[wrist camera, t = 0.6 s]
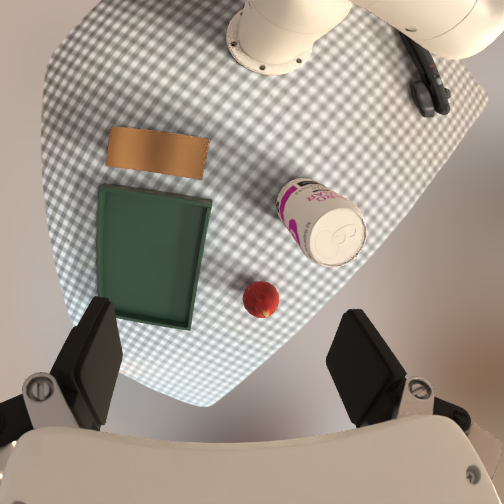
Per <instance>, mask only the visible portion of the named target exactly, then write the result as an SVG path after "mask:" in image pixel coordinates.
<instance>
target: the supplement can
mask: <svg viewBox="0 0 504 504" xmlns="http://www.w3.org/2000/svg"><path fill="white" fill-rule="evenodd" d="M276 207H277V213H278V215H279V217H280V219H281V220H282V222H283V223H284V225H285V226H286V228H287V229H288V231H289V232H290V233H291V235H292V236H293V238H294V239H295V241H296V242H297V244H298V245H299V247H300V248H301V250H302V251H303V253H304V254H305V255H306V257H307V258H309V259H310V260H311V261H312V262H314V263H316V264H319V265H322V266H328V267H341V266H343V265H346V264H348V263H350V262H351V261H352V260H354V259H355V258H356V257H357V256H358V255H359V254H360V252H361V251H362V249H363V248H364V245H365V242H366V239H367V228H366V225H365V220H364V218H363V215H362V212H361V211H360V210H359V209H358V207H357V206H356V205H355V204H354V203H352V202H350V201H349V200H347V199H346V198H344V197H342V196H341V195H339V194H337V193H335V192H334V191H332V190H330V189H329V188H327V187H325V186H323V185H322V184H320V183H318V182H316V181H314V180H312V179H309V178H297V179H295V180H292V181H290V182H288V183H287V184H286V185H285V186H283V188H282V189H281V191H280V193H279V194H278V197H277V202H276Z"/></svg>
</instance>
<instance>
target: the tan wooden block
mask: <svg viewBox="0 0 504 504" xmlns="http://www.w3.org/2000/svg"><path fill="white" fill-rule="evenodd" d="M209 144H210V139H208V138H203V137H197V136H191V135H185V134H178V133H171V132H164V131H157V130H149V129H140V128H130V127H111V131H110V138H109V144H108V151H107V158H106V166H110V167H119V168H127V169H134V170H142V171H149V172H156V173H162V174H169V175H175V176H181V177H187V178H193V179H199V180H202V176H203V172H204V167H205V162H206V158H207V153H208V148H209Z"/></svg>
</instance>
